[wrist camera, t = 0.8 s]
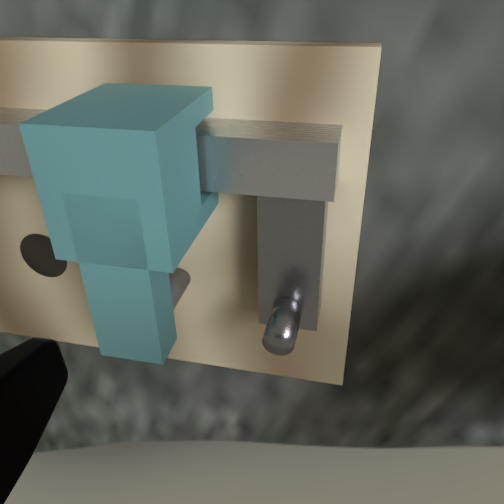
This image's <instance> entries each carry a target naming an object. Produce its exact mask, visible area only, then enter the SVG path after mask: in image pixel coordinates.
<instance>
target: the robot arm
mask: <svg viewBox="0 0 504 504" xmlns="http://www.w3.org/2000/svg"><path fill="white" fill-rule="evenodd" d="M67 378H68V371H67V367H66V364H65V361H64V359H63V356H62V353H61V350H60V347H59V344H58V343H57V342H56V341H55V340H53V339H47V338H39V337H35V338H32V339H29V340H28V341H26V342H24V343H22V344H20V345H18V346H16V347H14V348H12V349H10V350H8V351H6V352H4V353H2V354H0V504H4V502H5V500H6V499H7V497H8V496H9V494H10V492H11V491H12V489H13V487H14V486H15V484H16V482H17V481H18V479H19V477H20V476H21V474H22V472H23V471H24V469H25V467H26V465H27V464H28V462H29V460H30V458H31V456H32V454H33V452H34V450H35V448H36V446H37V444H38V442H39V440H40V438H41V436H42V434H43V432H44V430H45V428H46V425H47V423H48V421H49V419H50V417H51V415H52V413H53V411H54V409H55V406H56V404H57V402H58V400H59V398H60V396H61V394H62V392H63V390H64V387H65V385H66V383H67Z"/></svg>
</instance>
